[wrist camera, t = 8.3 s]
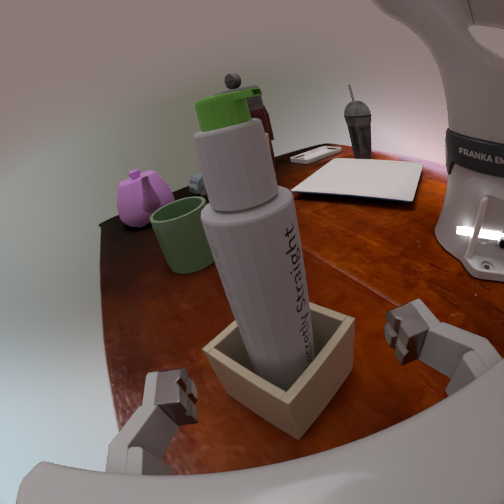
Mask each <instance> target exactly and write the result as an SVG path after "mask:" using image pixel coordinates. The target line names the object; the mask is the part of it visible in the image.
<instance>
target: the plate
mask: <svg viewBox="0 0 504 504" xmlns="http://www.w3.org/2000/svg"><path fill="white" fill-rule="evenodd" d="M422 166H423V164H421V163H416V162H404V161H390V160H373V159H348V158H335V159H333V160H331V161H330V162H329V163H327V164H326V165H325V166H323V167H322V168H320V169H319V170H318V171H316V172H315V173H314V174H312V175H311V176H309V177H308V178H307V179H305V180H304V181H303V182H301V183H300V184H299V185H297V186H296V187H295V188H293V189H292V190H291V191H292V192H294V193H310V194H325V195H338V196H350V197H361V198H371V199H381V200H390V201H399V202H407V203H410V202H412V201H413V198H414V195H415V192H416V188H417V185H418V181H419V178H420V174H421V170H422Z"/></svg>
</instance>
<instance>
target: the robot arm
mask: <svg viewBox="0 0 504 504" xmlns="http://www.w3.org/2000/svg"><path fill="white" fill-rule="evenodd" d="M372 2H373V3H374V4H375V5H376V6H377V7H378V8H379V9H380V10H381V11H383V12H384V13H385V14H386V15H388V16H390V17H391V18H393V19H395V20H397V21H399V22H400V23H402V24H404V25H406V26H407V27H408V28H409V29H411V30H412V31H413V32H414V33H415V34H416V35H417V36H418V37H419V38H420V39H421V40H422V41H423V42H424V43H425V45H426V46H427V47H428V49H429V50H430V52H431V53H432V55H433V57H434V59H435V61H436V63H437V65H438V68H439V70H440V74H441V77H442V81H443V85H444V90H445V96H446V102H447V109H448V121H449V128H448V129H447V131H446V138H445V143H446V166H447V172H448V182H447V188H446V194H445V199H444V203H443V207H442V211H441V214H440V217H439V220H438V222H437V224H436V227H435V235H436V238H437V240H438V241H439V243H440V244H441V245H442V246H443V247H444V248H445V249H446V250H447V251H448V252H449V253H451V254H452V255H453V256H455V257H456V258H457V259H459V260H460V261H461V262H462V264H463V265H464V267H465V268H466V270H467V271H468V272H469V273H470V274H471V275H472V276H473V277H475V278H479V279H487V280H495V281H502V282H504V59H503V58H502V57H500V56H499V55H497V54H495V53H494V52H492V51H491V50H489V49H487V48H486V47H484V46H483V45H481V44H480V43H479V42H477V41H476V39H475V38H474V37H473V36H472V35H471V33H470V32H469V29H468V27H469V26H472V25H473V24H474V25H480V26H487V27H495V28H501V29H504V0H372ZM386 320H387V321H388V322H387V323H386V324H385V326H384V334H385V339H386V341H387V343H388V345H389V346H390V347H392V348H394V349H395V354H394V355H395V356H396V358H397V360H398V361H399V363H400V364H401V366H402V365H405V364H407V363H409V362H412V361H414V360H416V359H418V360H420V361H422V362H424V363H425V364H427V365H429V366H430V367H432V368H434V369H436V370H437V371H439V372H441V373H442V374H444V375H446V376H447V377H449V378H451V380H450V382H449V383H448V385H447V387H446V390H445V391H446V392H447V394H448V396H449V397H447V398H445V399H444V400H442V401H440V402H438V403H437V404H435V405H433V406H431V407H429V408H428V409H426V410H424V411H422V412H420V413H418V414H416V415H414V416H412V417H410V418H408V419H406V420H404V421H402V422H400V423H398V424H395V425H393V426H391V427H389V428H387V429H384V430H382V431H380V432H377V433H375V434H372V435H370V436H367V437H365V438H362V439H359V440H357V441H354V442H351V443H348V444H346V445H343V446H340V447H337V448H334V449H330V450H327V451H324V452H320V453H317V454H314V455H310V456H306V457H302V458H299V459H294V460H290V461H286V462H281V463H277V464H272V465H267V466H262V467H256V468H250V469H243V470H236V471H228V472H220V473H209V474H195V475H172V468H171V467H170V466H169V465H167V464H165V463H164V462H162V461H161V459H162V457H163V455H164V453H165V452H166V450H167V448H168V446H169V444H170V443H171V441H172V439H173V437H174V435H175V434H176V432H177V430H178V428H179V426H181V425H188V424H195V423H198V409H197V407H196V406H195V403H196V402H197V400H198V394H197V389H196V386H195V383H194V382H193V380H192V379H191V378H188V377H187V371H186V370H185V369H184V368H179V369H172V370H164V371H157V372H150V373H148V374H147V376H146V381H145V388H144V396H143V404H142V406H140V407H138V409H137V410H136V411H135V413H134V414H133V415H132V416H131V418H130V419H129V420H128V421H127V423H126V424H125V425H124V427H123V428H122V429H121V430H120V432H119V433H118V434H117V436H116V437H115V438H114V439H113V441H112V442H111V443H110V444H109V448H108V456H107V465H106V472H100V471H91V470H85V469H79V468H73V467H68V466H63V465H58V464H54V463H50V462H40V463H38V464H37V465H36V466H35V467H34V468H33V469H32V470H31V471H30V472H29V473H28V474H27V476H25V478H24V479H23V481H22V482H21V484H20V487H19V491H18V494H17V499H16V504H504V358H503V359H502V357H501V356H500V355H499V353H498V352H497V351H496V350H495V348H494V347H493V346H492V345H491V343H490V342H489V341H488V340H487V339H486V338H483V337H481V336H478V335H476V334H473V333H470V332H468V331H465V330H463V329H460V328H457V327H455V326H452V325H450V324H447V323H444V322H442V323H440V322H439V321H438V319H437V318H436V317H435V316H434V315H433V314H432V312H431V311H430V310H429V309H428V308H427V306H426V305H425V304H424V303H423V302H422V301H421V300H420V299H416V300H414V301H412V302H409V303H406V304H404V305H401V306H399V307H396V308H394V309H392V310H389V311H387V313H386Z"/></svg>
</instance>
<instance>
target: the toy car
mask: <svg viewBox="0 0 504 504" xmlns="http://www.w3.org/2000/svg"><path fill="white" fill-rule="evenodd" d="M189 191H190V192H192V193H194V194H200V195H201V196H205V195H206V194H207V192H206V188H205V185H204V182H203V178H202V174H201V172H200V173H198V174H195V175H194V176H192V177H191V179H190V186H189Z"/></svg>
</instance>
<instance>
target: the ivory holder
mask: <svg viewBox="0 0 504 504" xmlns="http://www.w3.org/2000/svg"><path fill="white" fill-rule="evenodd" d="M309 306H310V314H311V322H312V331H313V340H314V349H315V359H314V360H313V362H312V363H311V364H310V365H309V367H308V368H307V369H306V370H305V371H304V373H303V374H302V375H301V376H300V377H299V378H298V380H297V381H296V382H295V383H294V384H293V385H292V387H291V388H290V389H289V390H288V391H287V392H285V391H284V390H282V389H280V388H278V387H277V386H275V385H273V384H271V383H270V382H268V381H266V380H265V379H263V378H261V377H260V376H258V375H256V373H255V371H254V368H253V366H252V363H251V360H250V358H249V355H248V352H247V350H246V347H245V345H244V342H243V339H242V337H241V334H240V331H239V328H238V326H237V323H236V320H235V321H234V322H233V323H231V324H230V325H229V326H228V327H227V328H226V329H225V330H223V331H222V332H221V333H220V334H219V335H218V336H217V337H215V338H214V339H213V340H212V341H211V342H210V343H208V344H207V345H206V346H205V347H204V348H203V351H204V353H205V355H206V357H207V359H208V361H209V362H210V364H211V366H212V368H213V370H214V371H215V373H216V375H217V377H218V379H219V380H220V382H221V384H222V385H223V387H224V389H225V391H226V392H227V394H228V395H230V396H231V397H232V398H234V399H235V400H237V401H238V402H239V403H241V404H242V405H244V406H245V407H247V408H248V409H250V410H251V411H253V412H254V413H255V414H257V415H258V416H260V417H262V418H263V419H265V420H266V421H268V422H269V423H271V424H272V425H274V426H276V427H277V428H279V429H280V430H282V431H284V432H285V433H287V434H289V435H290V436H292V437H293V438H295V439H297V440H299V439H300V438H301V437H302V436H303V435H304V433H305V432H306V431H307V430H308V429H309V427H310V426H311V425H312V424H313V422H314V421H315V420H316V419H317V417H318V416H319V415H320V414H321V412H322V411H323V410H324V408H325V407H326V406H327V404H328V403H329V402H330V400H331V399H332V398H333V396H334V395H335V394H336V392H337V391H338V389H339V388H340V387H341V385H342V384H343V382H344V381H345V379H346V378H347V377H348V375H349V374H350V372H351V371H352V366H353V352H354V334H355V318H353V317H350V316H347V315H344V314H341V313H338V312H336V311H333V310H330V309H327V308H324V307H322V306H319V305H316V304H313V303H310V302H309Z"/></svg>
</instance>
